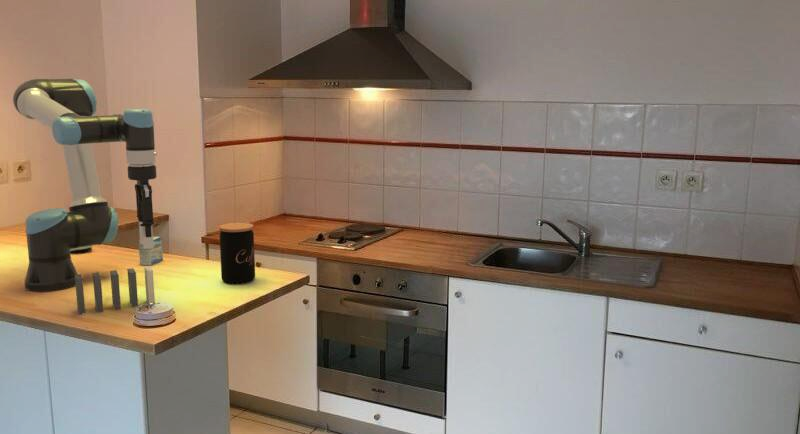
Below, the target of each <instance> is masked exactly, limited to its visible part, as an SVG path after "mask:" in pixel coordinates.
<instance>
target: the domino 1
mask: <svg viewBox="0 0 800 434" xmlns="http://www.w3.org/2000/svg"><path fill="white" fill-rule="evenodd" d="M74 286H75V294H76V296H75V297H76V304H77V305H76V306H77V312H79V313H78V315H84V314H83V313H85V314H86V307H85V306H86V305H85V294H84V280H83V277H82V274H81V273H78V275H75V285H74Z"/></svg>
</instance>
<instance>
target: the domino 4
mask: <svg viewBox="0 0 800 434" xmlns="http://www.w3.org/2000/svg"><path fill="white" fill-rule="evenodd" d="M126 271H127V283H128V296H129V304H130V305H131V307H132V308H135V307H139V298H138V285H137V272H136V270H135V268H134V267H131V268H127V270H126Z"/></svg>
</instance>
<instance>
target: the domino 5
mask: <svg viewBox="0 0 800 434" xmlns="http://www.w3.org/2000/svg"><path fill="white" fill-rule="evenodd" d="M143 270H144V282H145V283H144V284H145V295H146V296H145V297H146V298H145V299H146V302H147V303H148V305H149V304H150V303H155V304H156V299H155V285H154V284H155V282H154V281H155V280H154V270H153V268H152V266H150V265H147V266H144V269H143Z"/></svg>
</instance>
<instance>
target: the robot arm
mask: <svg viewBox="0 0 800 434" xmlns="http://www.w3.org/2000/svg"><path fill="white" fill-rule="evenodd" d="M95 93H96V92H95V91H94V89H93V88H92V85H90V84H89V83H88V82H87V81H86V80H84V79H79V78H78V79H77V78H76V79H75V78H34V79H29V80H27V81H25V82H23V83H21V84H20V85H19V86H18V87H17V88H16V89H15V91H14V93H13V96H12V103H13V106H14V108H15V110H16V111H17V112H18V113H19V114H20V115H22V116H23V117H25V118H27V119H29V120H30V119H31V120H36V121H37V122H39V123H41V124H42V125H44V126H45V127H46V128H48V129H50V130H51V132H52V136H53V139H55V142H56V143H57V144H59V145H62V148H63V149H62V150H63V154H64V155H63V156H64V159H65V166H66V171H67V176H68V182H69V187H70V193H71V199H72V202H71V203H70V204H69V205H68V210H69V211H67V210H66V208H62V207H60V208H59V207H58V208H57V207H55V208H48V209H42V210H40V211H37V212H34V213H31V214H30V215H28V216H27V217H26V219H25V230H24V231H25V232H24V233H25V234H26V243H27V253H28V267H27V270H26V275H25V278H24V288H25V289H26V290H28V291H32V292H51V291H52V292H53V291H58V290H59V291H60V290H64V289H68V288H71V287H74V286H76V285H75V275H78V274H79V273H78V271H77V269H76V267H75V265H74V262H73V261H72V258H71V253H70V249H73V248H80V247H86V246H92V247H93V246H96V245H97V246H100V245H102V244H103V245H104V244H106V243H110V242H112V241H114V240H115V238H116V237H117V234H118V230H119V217H118V216H119V215H118V213H117V211H116V209H115V208H114V207H112V206H109V202H108V200H107V199H105V198H104V197H102V194H101V193H102V192H101V188H100V187H101V186H100V182H99V181H100V180H99V176H98V170H97V165H96V160H95V154H94V148H93V144H104V143H105V144H107V143H117V142H118V143H121V142H122V143H123V142H125V149H126V150H125V153H126V164H127V165H128V167H127V178H128V180H131V181H136V183H134V191H135V200H136V201H135V202H136V217H137V220H138V231H139V234H138V235H139V241H140V244H143V248H144V249H146V248H154V241H153V237H154V230H153V229H154V227H153V225H154V224H155V221H154V208H153V190H152V189H153V188H152V185H150V183H149V181H150V180H154V179H156V178H157V176H158V175H157V166H156V165H155V164H156V156H158V152H156V149H155V147H156V146H155V128H154V127H155V126H154V124H155V123H154V117H153V112H152V110H150V109H149V108H129V109H125V110H124V112H123V114H121V113H120V114H112V115H111V114H110V115H95V114H96V113H97V112H96V111H97V108H98V107H97V103H98V102H97V96H96V95H95Z"/></svg>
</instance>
